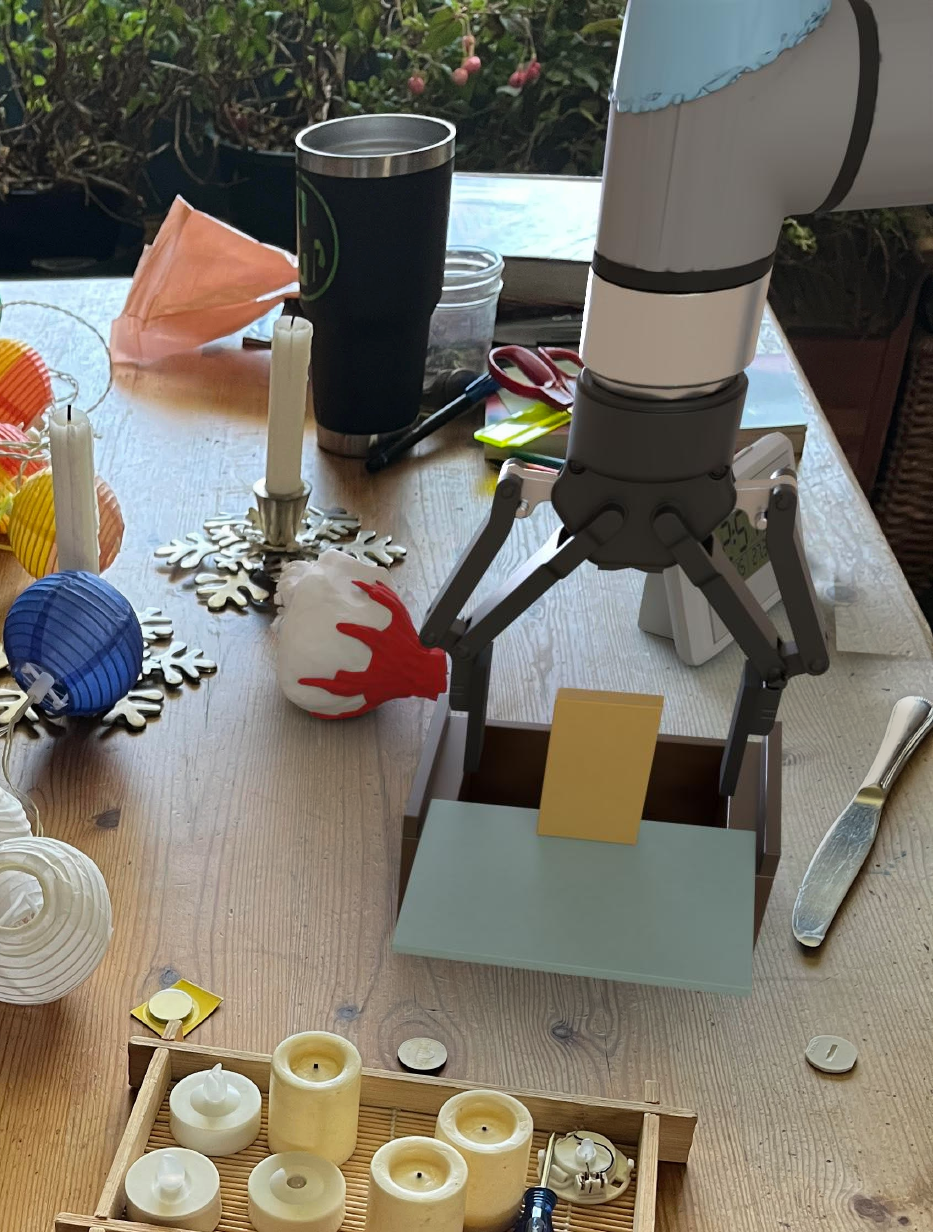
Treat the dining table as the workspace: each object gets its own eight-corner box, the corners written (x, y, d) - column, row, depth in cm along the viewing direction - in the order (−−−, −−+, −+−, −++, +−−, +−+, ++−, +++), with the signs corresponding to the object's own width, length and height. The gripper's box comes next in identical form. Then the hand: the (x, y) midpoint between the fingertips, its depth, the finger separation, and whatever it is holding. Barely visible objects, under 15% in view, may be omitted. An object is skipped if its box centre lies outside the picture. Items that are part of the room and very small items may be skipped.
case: (747, 857, 92) (782, 720, 86) (742, 993, 84) (781, 854, 77) (428, 823, 97) (439, 692, 91) (394, 949, 89) (403, 815, 82)
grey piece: (754, 840, 80) (793, 691, 74) (749, 998, 72) (793, 845, 66) (430, 807, 84) (441, 664, 78) (390, 952, 76) (400, 805, 70)
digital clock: (691, 680, 106) (722, 530, 99) (589, 634, 112) (611, 488, 104) (840, 599, 112) (880, 452, 105) (736, 559, 118) (767, 416, 110)
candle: (281, 633, 114) (472, 697, 109) (210, 707, 107) (410, 778, 103) (297, 517, 107) (501, 580, 103) (222, 588, 101) (436, 658, 96)
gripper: (959, 341, 69) (839, 753, 84) (402, 331, 76) (383, 715, 91) (971, 408, 64) (842, 833, 79) (374, 391, 71) (359, 786, 86)
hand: (597, 770), depth 85 cm, fingers open, 13 cm apart
